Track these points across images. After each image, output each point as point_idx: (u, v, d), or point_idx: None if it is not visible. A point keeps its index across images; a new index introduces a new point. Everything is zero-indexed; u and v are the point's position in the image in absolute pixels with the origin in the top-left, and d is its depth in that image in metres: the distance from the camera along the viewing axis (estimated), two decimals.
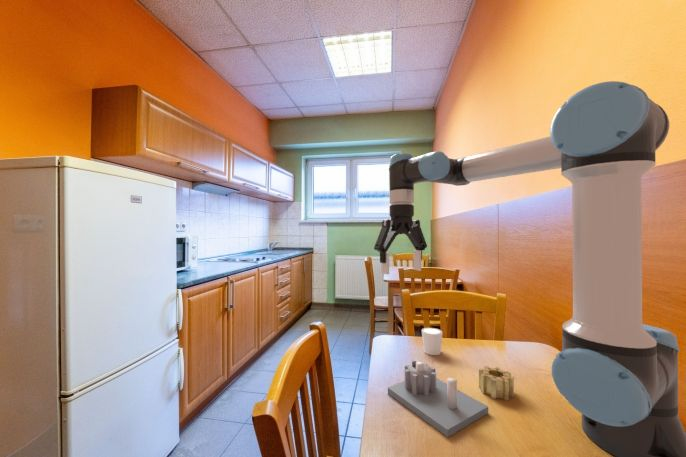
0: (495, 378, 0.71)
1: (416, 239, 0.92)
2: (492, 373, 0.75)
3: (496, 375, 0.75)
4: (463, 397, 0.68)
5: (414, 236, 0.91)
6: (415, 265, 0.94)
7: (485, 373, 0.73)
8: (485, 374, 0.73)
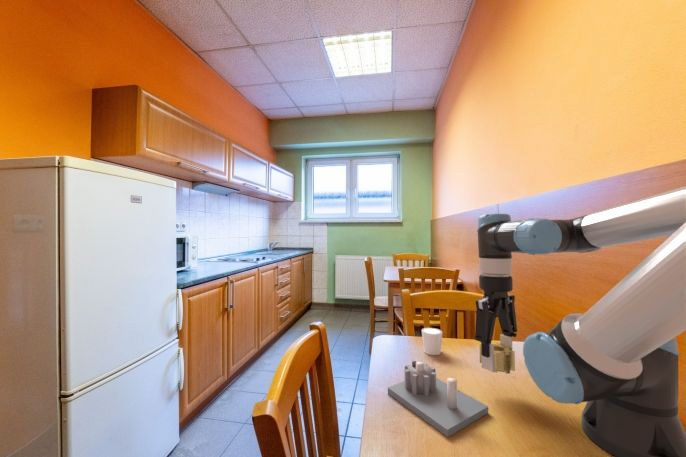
0: (496, 352, 0.70)
1: (509, 321, 0.74)
2: None
3: (497, 350, 0.74)
4: (463, 397, 0.68)
5: (507, 316, 0.73)
6: None
7: None
8: None
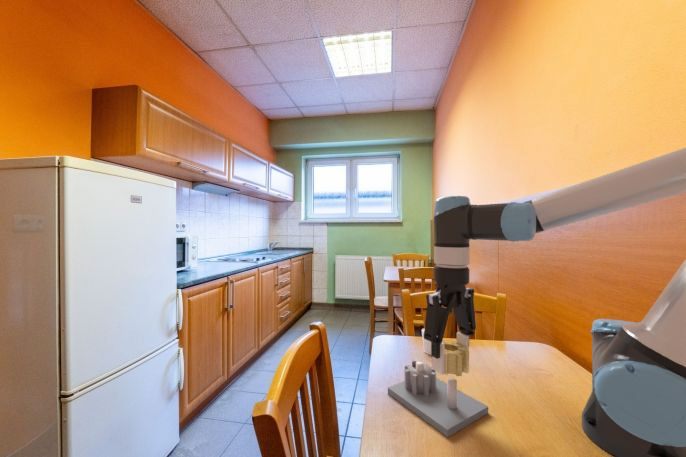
0: (447, 352, 0.62)
1: (465, 317, 0.65)
2: (447, 348, 0.67)
3: (451, 350, 0.66)
4: (463, 397, 0.68)
5: (464, 313, 0.65)
6: None
7: None
8: None
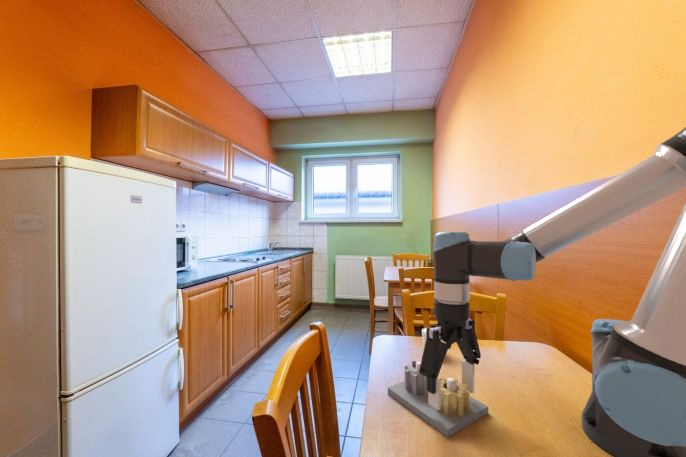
0: (448, 392, 0.62)
1: (469, 348, 0.66)
2: None
3: None
4: None
5: (467, 344, 0.65)
6: (465, 383, 0.68)
7: None
8: None
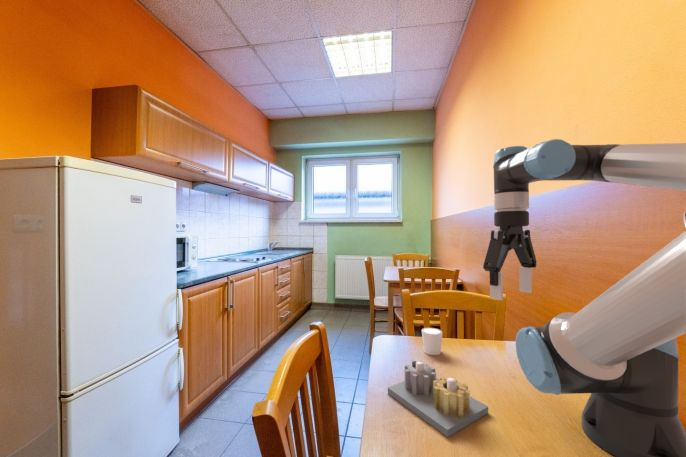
0: (448, 392, 0.62)
1: (527, 254, 0.73)
2: None
3: None
4: None
5: (525, 250, 0.73)
6: (522, 286, 0.75)
7: (439, 386, 0.65)
8: (438, 387, 0.64)
